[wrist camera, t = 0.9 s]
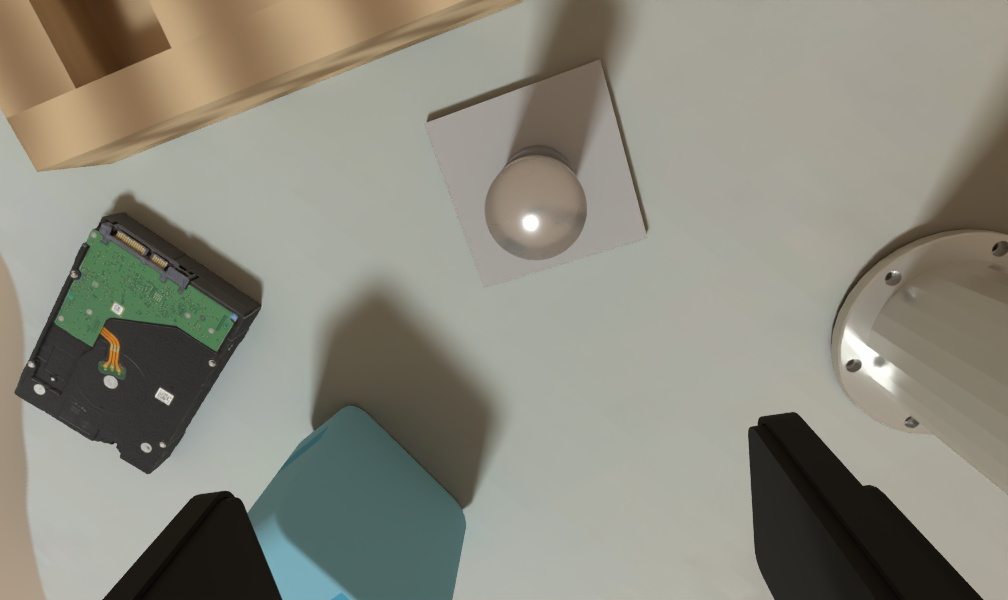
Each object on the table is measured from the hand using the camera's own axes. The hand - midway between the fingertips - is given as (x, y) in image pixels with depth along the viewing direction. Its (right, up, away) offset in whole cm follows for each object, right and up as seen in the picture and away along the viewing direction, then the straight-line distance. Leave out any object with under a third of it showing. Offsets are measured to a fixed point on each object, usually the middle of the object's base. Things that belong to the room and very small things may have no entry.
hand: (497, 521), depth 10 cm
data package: (-8, -8, +29) cm, 31 cm away
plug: (+2, +11, +21) cm, 24 cm away
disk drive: (-24, +1, +27) cm, 36 cm away
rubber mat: (+2, +11, +21) cm, 24 cm away
